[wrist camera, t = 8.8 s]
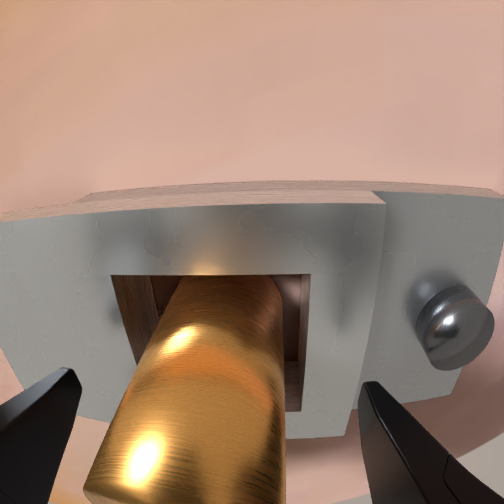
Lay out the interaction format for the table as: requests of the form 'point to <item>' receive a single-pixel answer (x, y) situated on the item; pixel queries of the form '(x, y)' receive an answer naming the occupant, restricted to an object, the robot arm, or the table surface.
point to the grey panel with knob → (260, 263)
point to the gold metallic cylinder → (202, 403)
